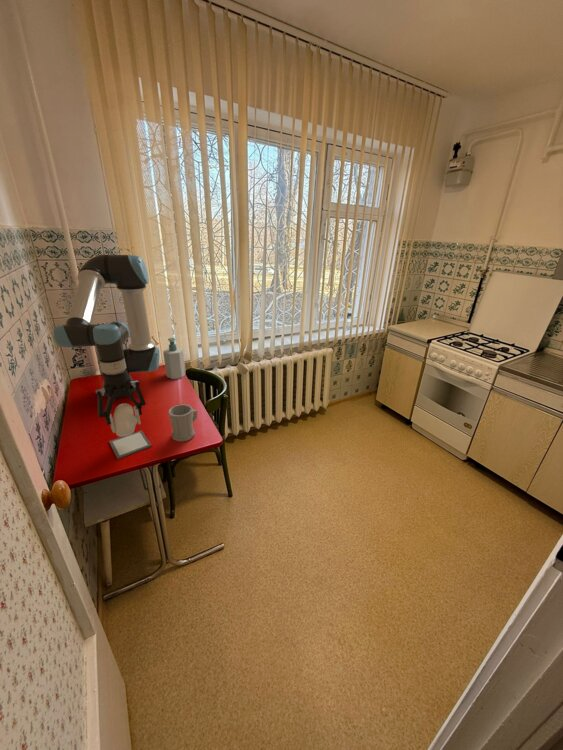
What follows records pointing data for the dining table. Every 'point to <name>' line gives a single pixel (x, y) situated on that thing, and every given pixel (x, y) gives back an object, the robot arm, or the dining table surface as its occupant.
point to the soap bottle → (174, 361)
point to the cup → (182, 422)
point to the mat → (129, 444)
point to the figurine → (124, 420)
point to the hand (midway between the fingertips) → (126, 426)
